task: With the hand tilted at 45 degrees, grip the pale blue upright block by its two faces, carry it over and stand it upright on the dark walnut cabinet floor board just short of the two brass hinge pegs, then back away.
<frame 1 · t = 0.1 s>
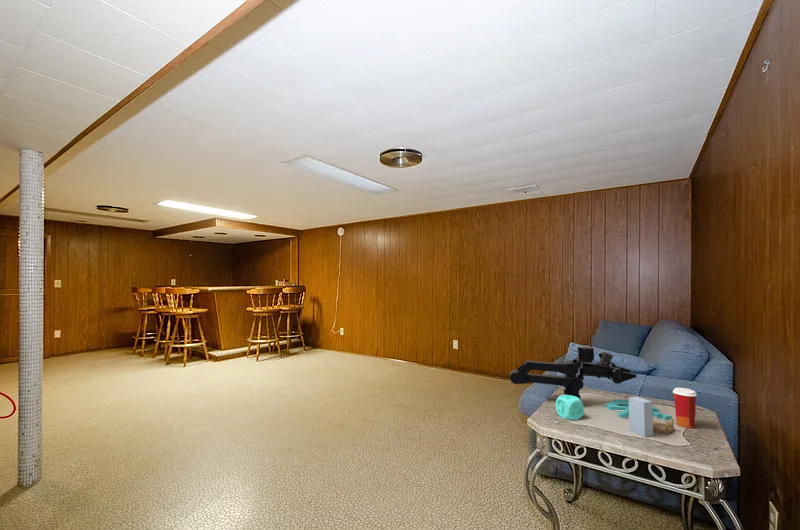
hand: (633, 373, 160), 17 cm above the table, tool horizontal, fingers open, 9 cm apart
alien figure: (633, 412, 160), on the table
decorative dice: (569, 417, 152), on the table
pale blue upright block: (641, 433, 136), on the table
paper cup: (685, 426, 144), on the table
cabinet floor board: (655, 427, 141), on the table
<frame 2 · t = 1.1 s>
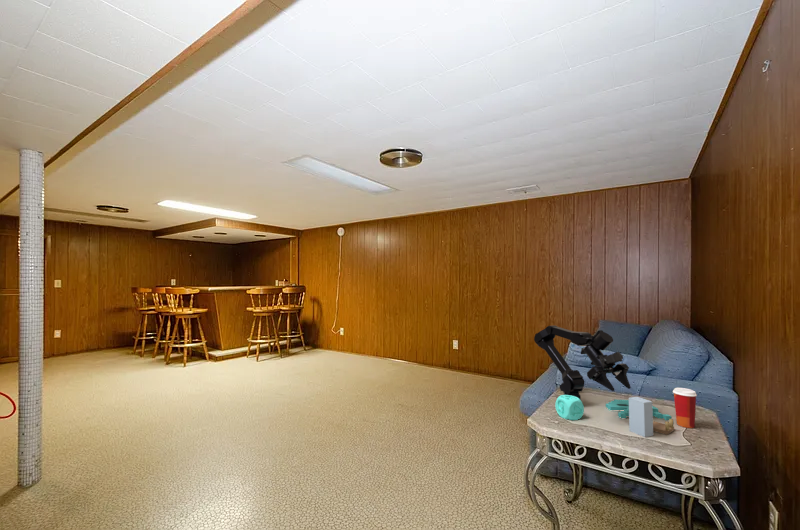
hand: (621, 389, 144), 14 cm above the table, tool tilted 45°, fingers open, 9 cm apart
nothing on the table moved.
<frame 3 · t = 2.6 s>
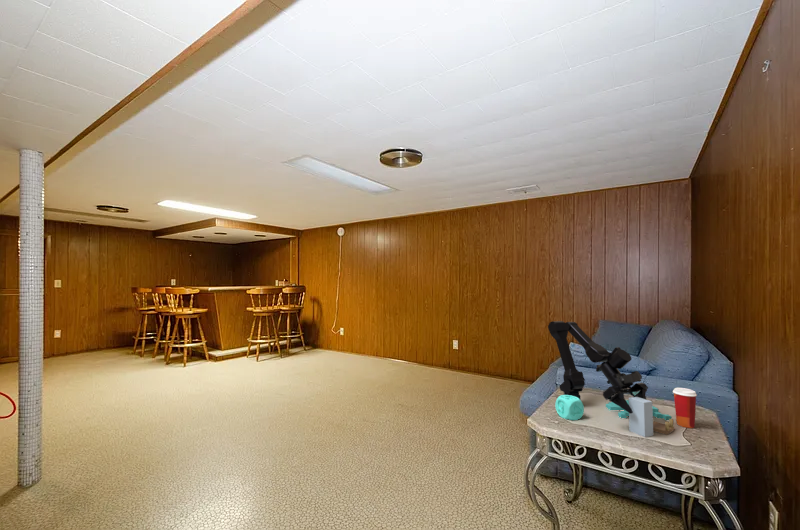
hand: (640, 411, 136), 8 cm above the table, tool tilted 45°, fingers open, 9 cm apart
nothing on the table moved.
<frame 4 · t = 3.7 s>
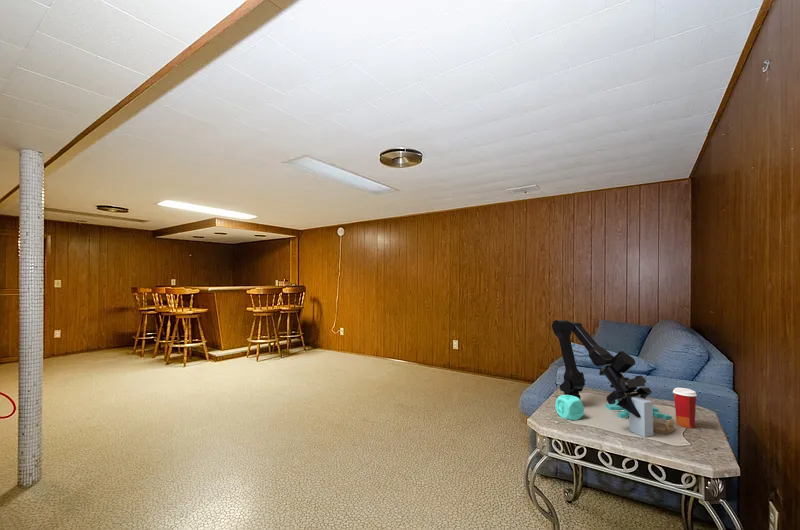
hand: (644, 416, 135), 7 cm above the table, tool tilted 45°, fingers closed on pale blue upright block, 5 cm apart
pale blue upright block: (641, 433, 136), on the table, touching gripper
everything else where it was.
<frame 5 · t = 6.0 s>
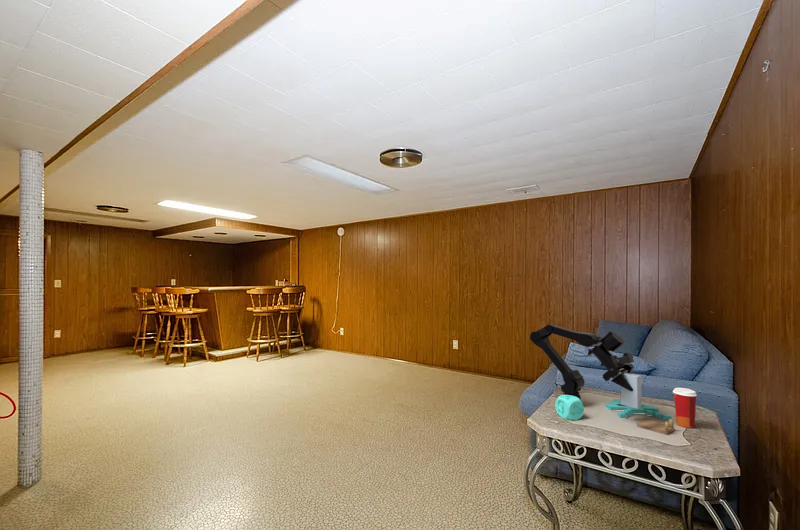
hand: (634, 389, 147), 13 cm above the table, tool tilted 45°, fingers closed on pale blue upright block, 4 cm apart
pale blue upright block: (631, 405, 148), point 6 cm above the table, touching gripper
everything else where it was.
when the fingers open (9 cm above the table, at t = 7.9 s): pale blue upright block drops 1 cm, resting on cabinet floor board.
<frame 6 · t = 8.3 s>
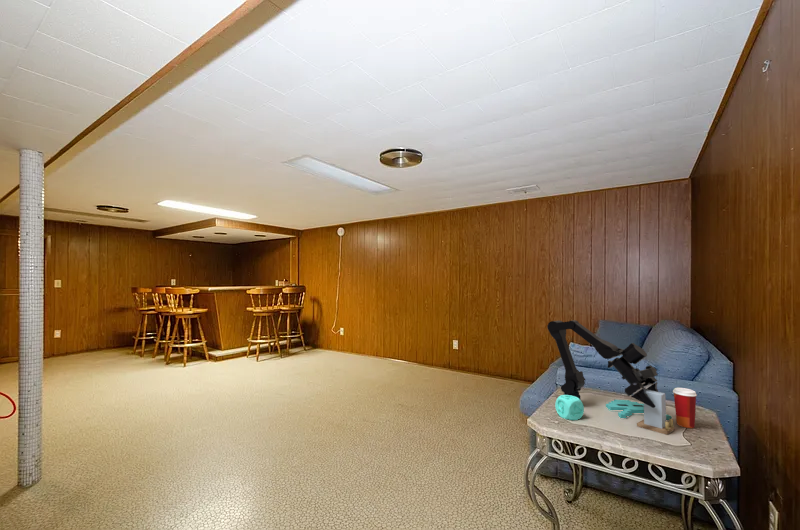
hand: (658, 405, 140), 9 cm above the table, tool tilted 45°, fingers open, 9 cm apart
pale blue upright block: (655, 424, 141), point 1 cm above the table, touching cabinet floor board
everything else where it was.
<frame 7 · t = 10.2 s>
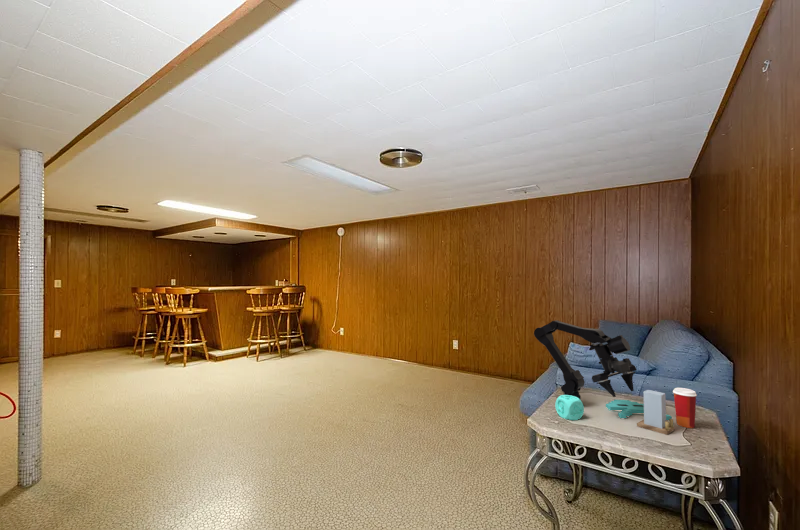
hand: (623, 393, 151), 10 cm above the table, tool tilted 25°, fingers open, 9 cm apart
nothing on the table moved.
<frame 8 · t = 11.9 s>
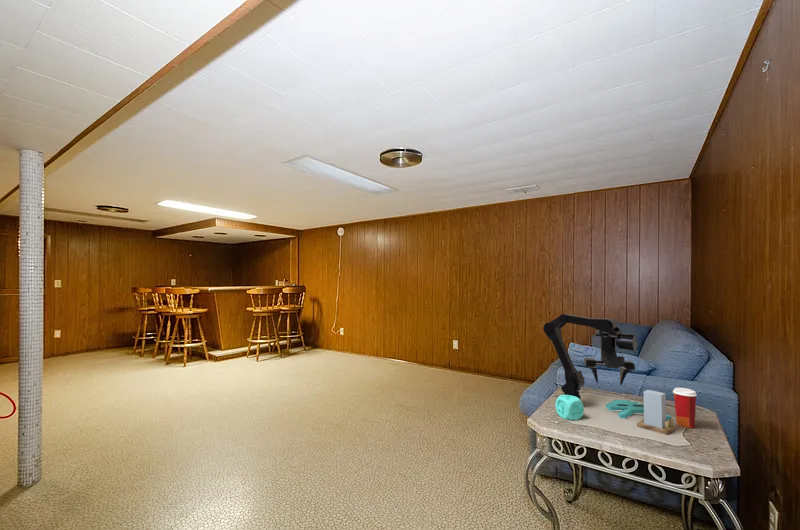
hand: (608, 383, 156), 13 cm above the table, tool pointing down, fingers open, 9 cm apart
nothing on the table moved.
at the end: pale blue upright block 0.0 cm off-centre on the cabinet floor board, point 1.2 cm above the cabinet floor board's base; pale blue upright block tilted 0°; the gripper is holding nothing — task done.
